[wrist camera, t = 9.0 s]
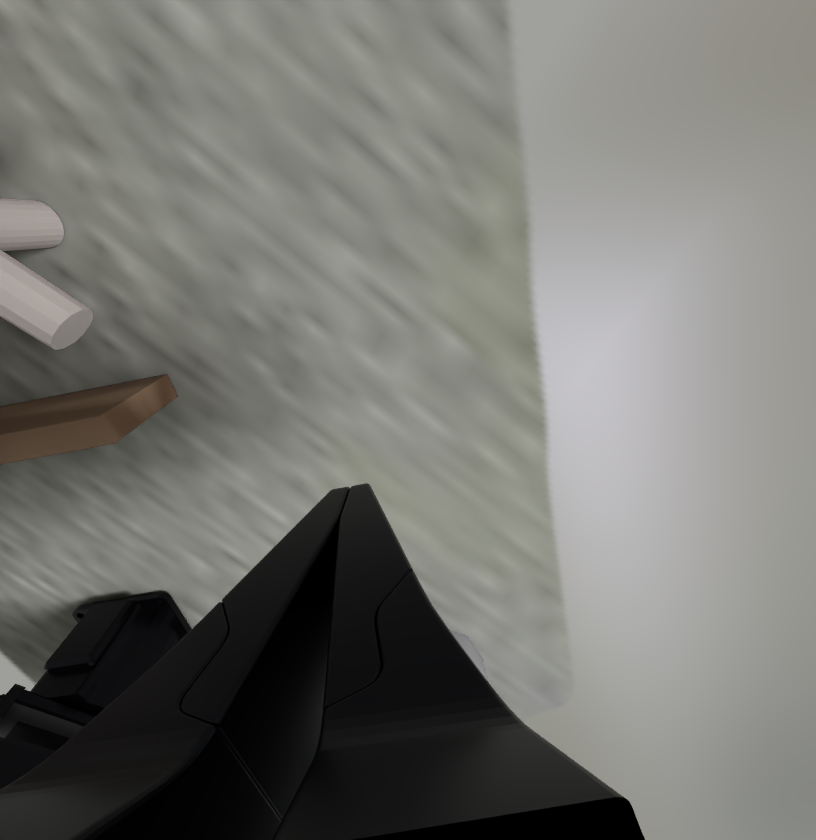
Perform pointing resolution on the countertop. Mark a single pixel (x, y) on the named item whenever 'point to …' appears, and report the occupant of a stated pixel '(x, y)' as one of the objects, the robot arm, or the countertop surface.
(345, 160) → the countertop surface
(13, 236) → the pipe connector
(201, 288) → the countertop surface
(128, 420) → the walnut bay
